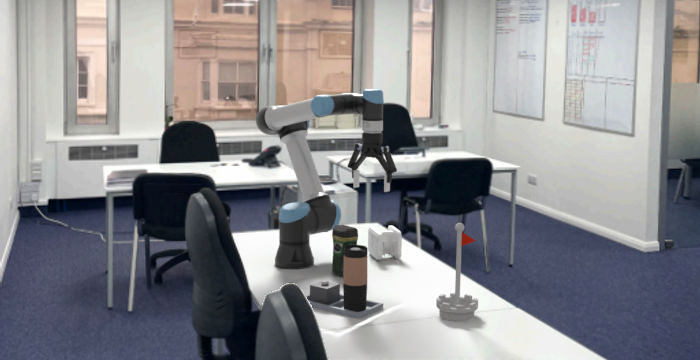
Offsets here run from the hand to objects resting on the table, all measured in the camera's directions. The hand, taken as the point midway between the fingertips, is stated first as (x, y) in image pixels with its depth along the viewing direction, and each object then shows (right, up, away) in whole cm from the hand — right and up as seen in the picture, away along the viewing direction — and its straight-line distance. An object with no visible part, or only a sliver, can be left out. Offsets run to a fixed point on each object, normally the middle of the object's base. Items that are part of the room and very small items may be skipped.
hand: (371, 189), depth 299 cm
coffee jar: (-10, -32, +2) cm, 33 cm away
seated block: (-16, -36, -33) cm, 52 cm away
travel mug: (-6, -38, -40) cm, 55 cm away
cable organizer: (+6, -28, +28) cm, 40 cm away
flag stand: (+26, -40, -42) cm, 63 cm away
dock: (-11, -38, -36) cm, 54 cm away
